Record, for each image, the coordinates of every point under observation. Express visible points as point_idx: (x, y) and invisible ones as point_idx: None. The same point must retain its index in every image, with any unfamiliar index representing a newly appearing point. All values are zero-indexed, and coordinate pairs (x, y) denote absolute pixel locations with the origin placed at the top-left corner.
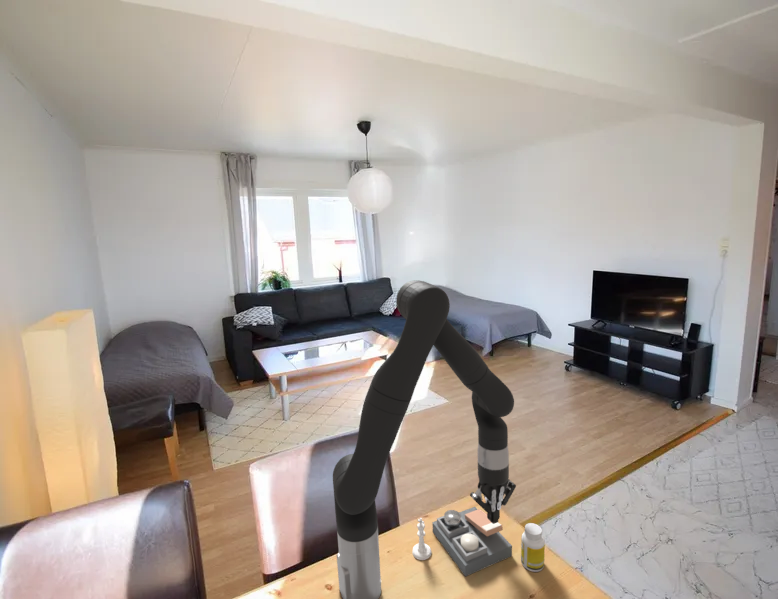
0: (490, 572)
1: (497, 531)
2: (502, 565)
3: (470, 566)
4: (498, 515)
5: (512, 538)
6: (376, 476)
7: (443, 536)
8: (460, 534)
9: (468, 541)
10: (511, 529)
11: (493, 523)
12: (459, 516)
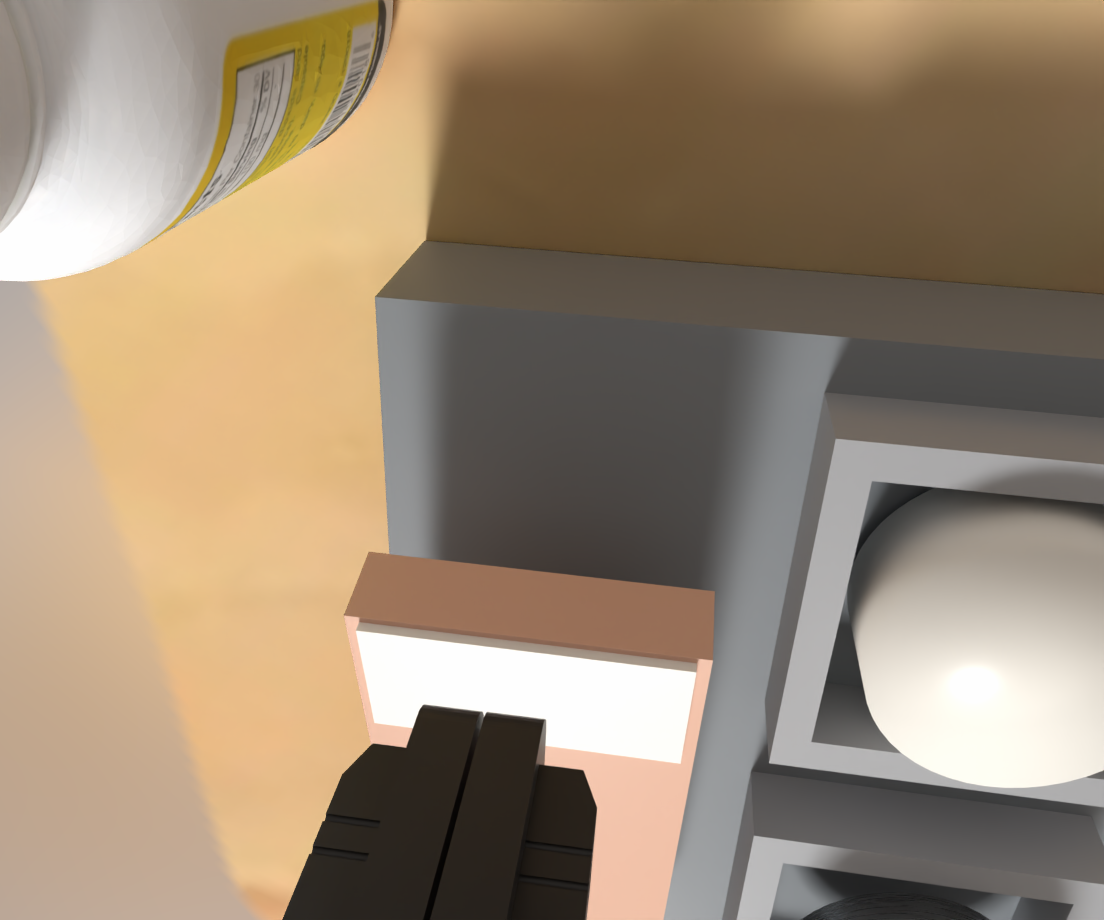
0: (891, 178)
1: (480, 572)
2: (650, 185)
3: None
4: (356, 825)
5: (243, 440)
6: None
7: None
8: (893, 788)
9: (1066, 670)
10: (176, 537)
11: (542, 726)
12: None
